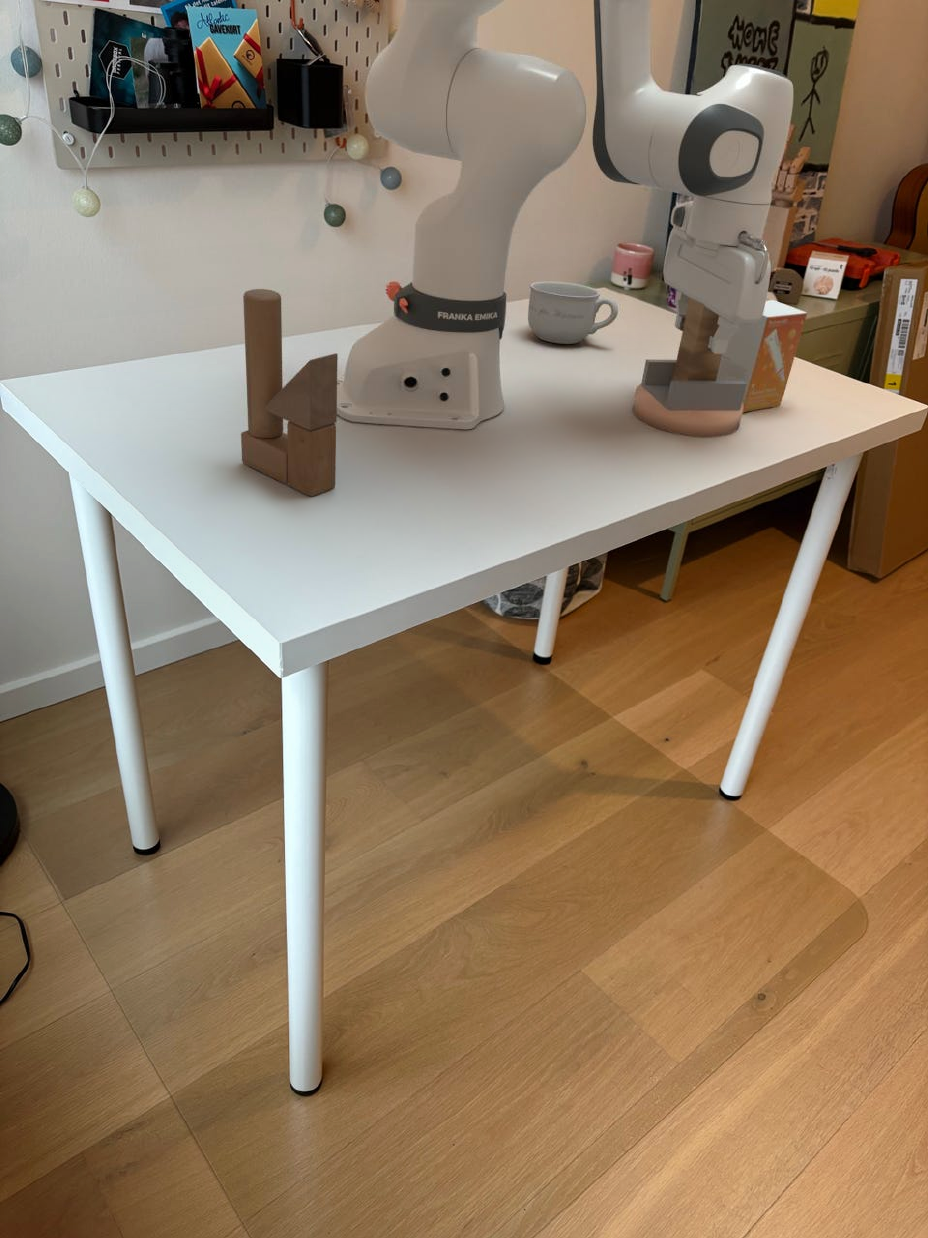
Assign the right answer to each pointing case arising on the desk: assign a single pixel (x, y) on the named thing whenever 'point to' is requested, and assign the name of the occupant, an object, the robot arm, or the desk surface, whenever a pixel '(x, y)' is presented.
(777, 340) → the small box
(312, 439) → the brown wooden block assembly
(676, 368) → the wood grain beam
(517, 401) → the desk surface
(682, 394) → the round base with bracket
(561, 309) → the teacup
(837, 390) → the desk surface
